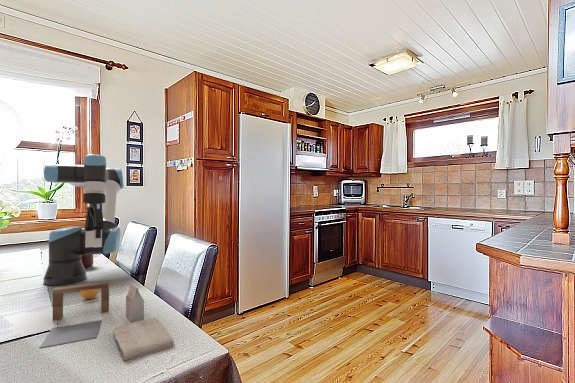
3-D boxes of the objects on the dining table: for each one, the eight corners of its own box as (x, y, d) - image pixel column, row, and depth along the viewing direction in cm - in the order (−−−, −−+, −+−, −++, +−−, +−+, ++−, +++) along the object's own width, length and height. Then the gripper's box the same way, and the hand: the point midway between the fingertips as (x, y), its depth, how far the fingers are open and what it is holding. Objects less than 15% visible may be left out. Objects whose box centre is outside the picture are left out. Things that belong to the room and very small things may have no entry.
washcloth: (155, 323, 90) (155, 313, 90) (175, 348, 76) (175, 335, 76) (110, 335, 82) (110, 324, 82) (123, 365, 68) (123, 351, 68)
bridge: (55, 317, 93) (55, 287, 93) (109, 309, 99) (109, 281, 99) (52, 320, 90) (52, 290, 90) (108, 312, 97) (108, 283, 97)
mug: (85, 265, 160) (85, 246, 160) (99, 266, 158) (99, 246, 158) (64, 270, 148) (64, 250, 148) (78, 271, 146) (79, 250, 146)
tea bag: (138, 313, 96) (138, 281, 96) (143, 319, 91) (144, 287, 91) (125, 315, 94) (126, 284, 94) (130, 323, 89) (130, 289, 89)
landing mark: (52, 328, 85) (52, 328, 85) (101, 320, 90) (101, 320, 90) (39, 348, 74) (39, 347, 74) (96, 337, 80) (96, 337, 80)
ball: (81, 297, 110) (82, 282, 110) (99, 295, 113) (99, 280, 113) (79, 302, 105) (79, 286, 105) (97, 299, 108) (97, 284, 108)
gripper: (77, 196, 126) (75, 247, 123) (90, 188, 108) (88, 248, 105) (97, 197, 131) (96, 246, 128) (113, 189, 113) (112, 246, 110)
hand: (93, 247), depth 117 cm, fingers open, 13 cm apart
